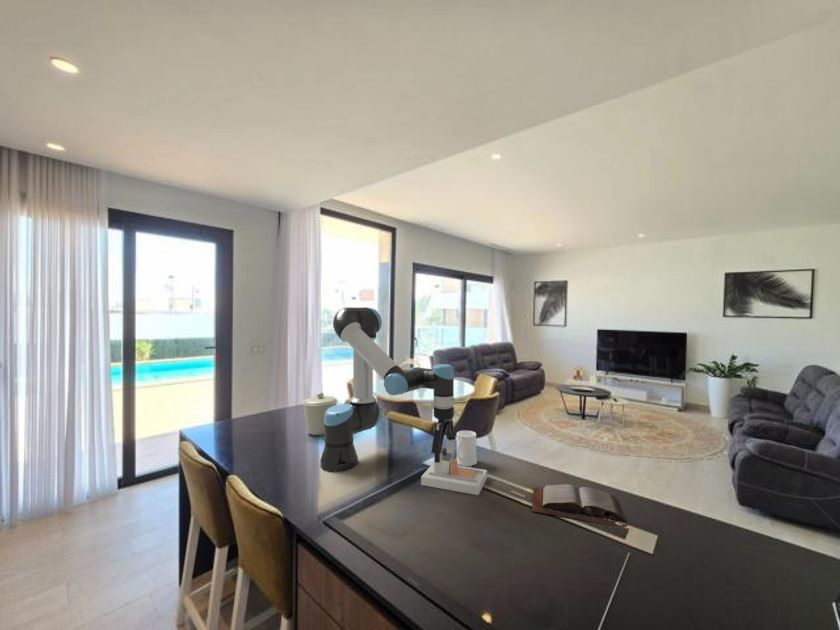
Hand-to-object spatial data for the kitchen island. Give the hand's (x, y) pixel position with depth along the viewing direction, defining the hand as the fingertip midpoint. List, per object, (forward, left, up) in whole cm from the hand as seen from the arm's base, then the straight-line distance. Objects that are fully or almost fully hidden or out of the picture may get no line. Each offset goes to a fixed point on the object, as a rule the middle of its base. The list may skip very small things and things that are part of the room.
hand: (444, 463), depth 137 cm
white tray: (+4, 0, -6) cm, 7 cm away
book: (+46, -1, -7) cm, 46 cm away
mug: (+3, +17, -6) cm, 18 cm away
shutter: (+7, 0, -3) cm, 8 cm away
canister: (-78, +28, -6) cm, 83 cm away
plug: (0, 0, -6) cm, 6 cm away
